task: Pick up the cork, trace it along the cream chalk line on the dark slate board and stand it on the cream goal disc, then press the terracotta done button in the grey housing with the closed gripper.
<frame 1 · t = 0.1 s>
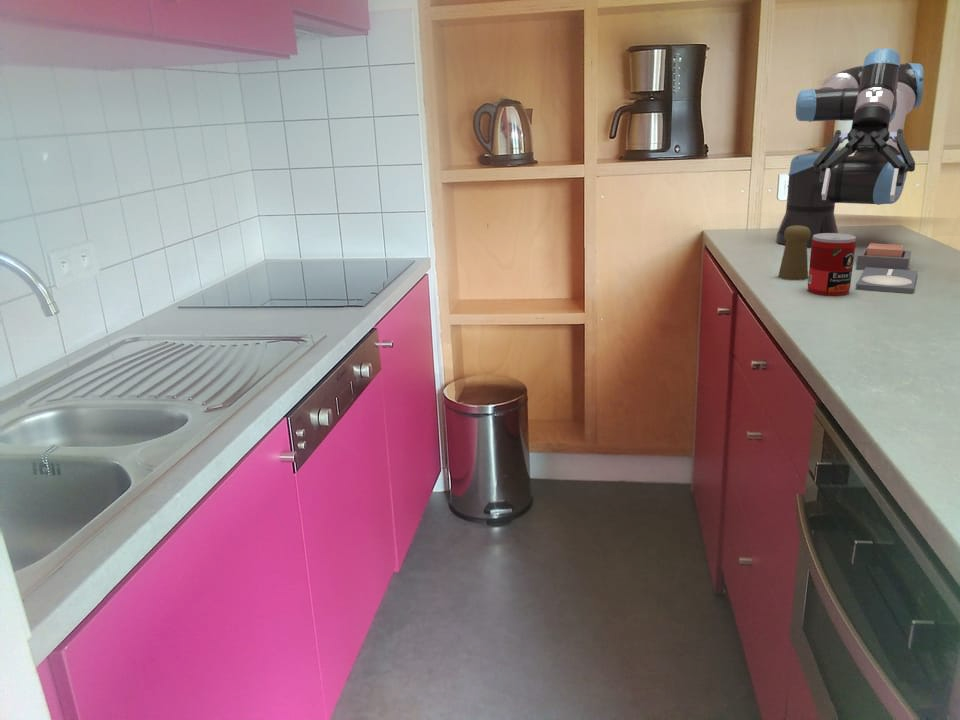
hand: (857, 197, 167), 15 cm above the worktop, tool tilted 35°, fingers open, 13 cm apart
button housing: (883, 266, 171), on the worktop
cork: (792, 278, 165), on the worktop
slate board: (887, 281, 157), on the worktop
canned food: (827, 292, 152), on the worktop
done button: (884, 253, 170), point 3 cm above the worktop, slide at 0.0 cm
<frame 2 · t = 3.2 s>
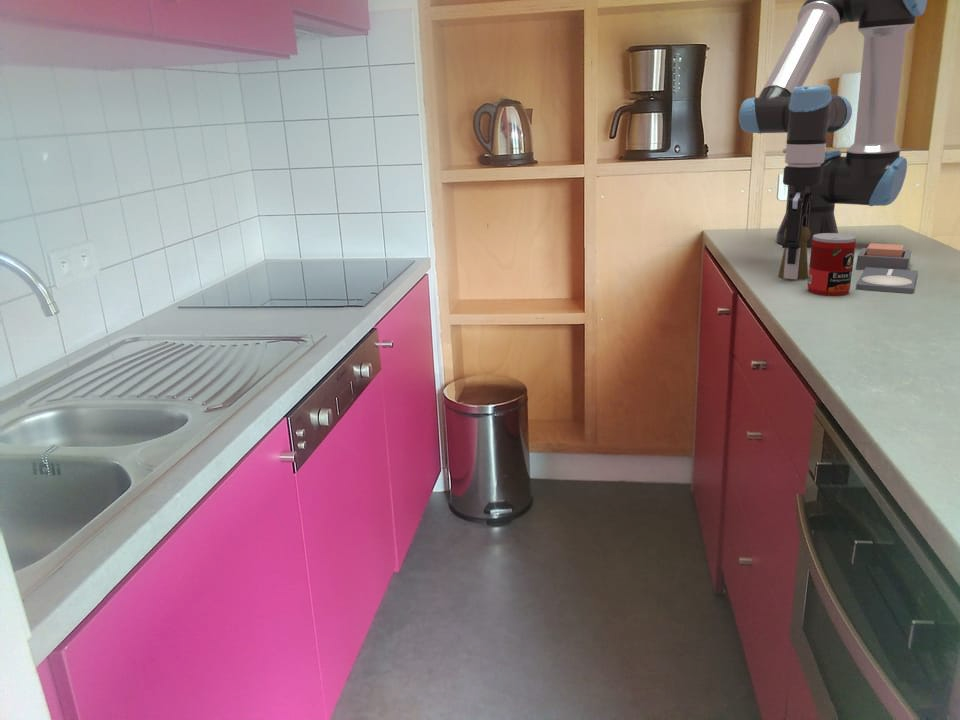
hand: (793, 275, 164), 0 cm above the worktop, tool pointing down, fingers closed on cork, 6 cm apart
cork: (792, 278, 165), on the worktop, touching gripper
everything else where it was.
when the fingers open (3 cm above the worktop, at t = 10.1 s): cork drops 1 cm, resting on slate board.
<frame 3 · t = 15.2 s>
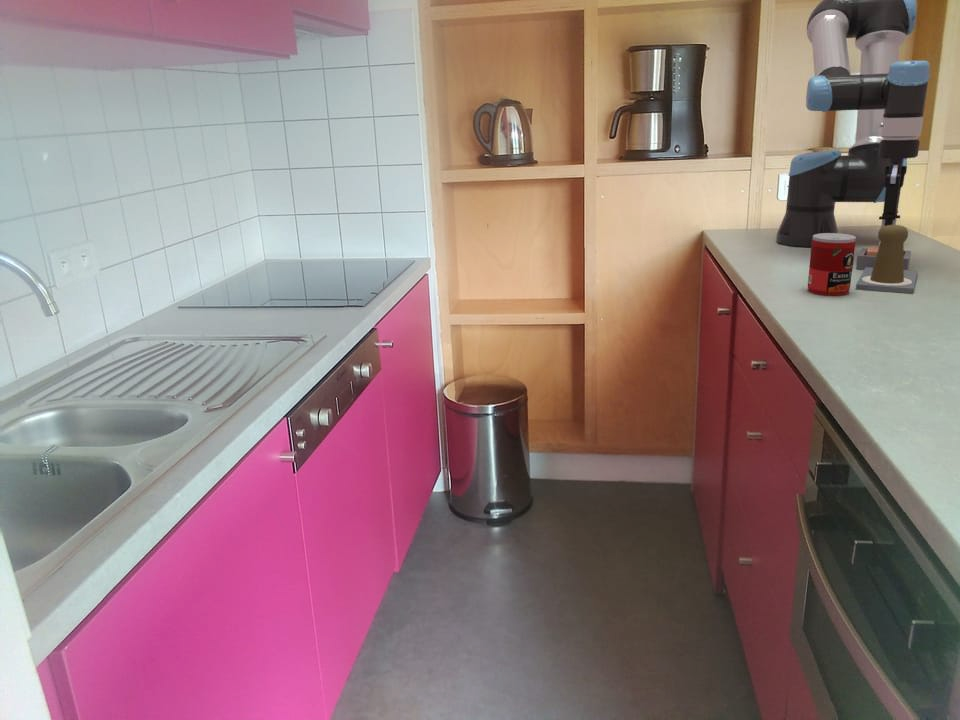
hand: (885, 248, 170), 4 cm above the worktop, tool pointing down, fingers closed
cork: (886, 281, 154), point 1 cm above the worktop, touching slate board
done button: (884, 256, 171), point 2 cm above the worktop, slide at 0.7 cm, touching gripper
everything else where it was.
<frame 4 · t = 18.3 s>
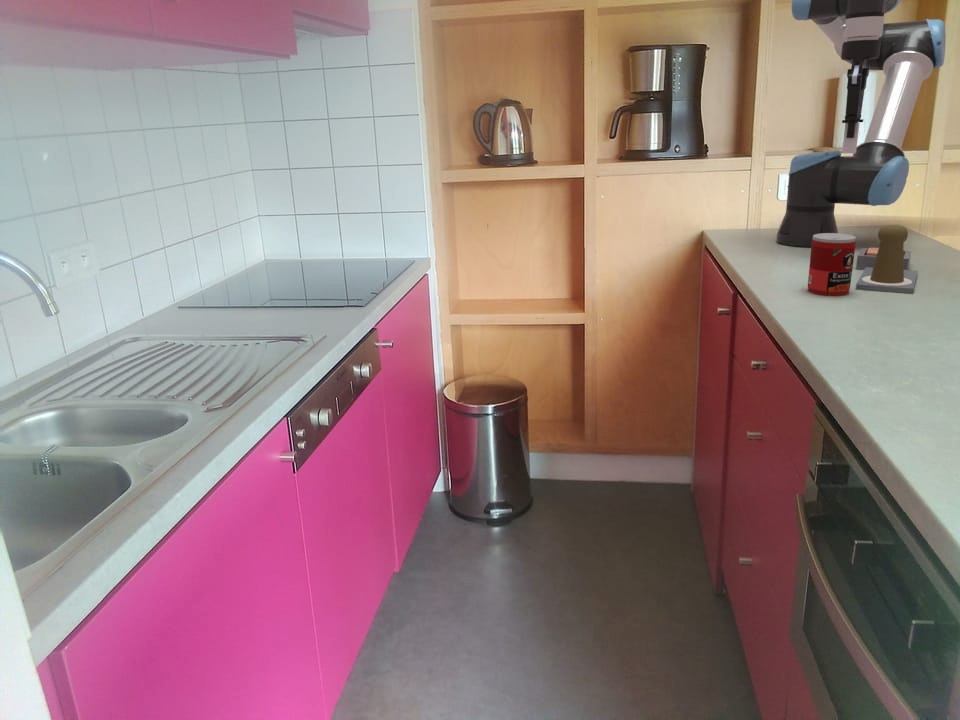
hand: (849, 153, 172), 24 cm above the worktop, tool pointing down, fingers closed
done button: (884, 257, 171), point 2 cm above the worktop, slide at 1.0 cm
everything else where it was.
at the end: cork 0.0 cm from the target spot on the slate board, point 0.9 cm above the slate board's base; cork tilted 0°; done button slide at 1.0 cm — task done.
